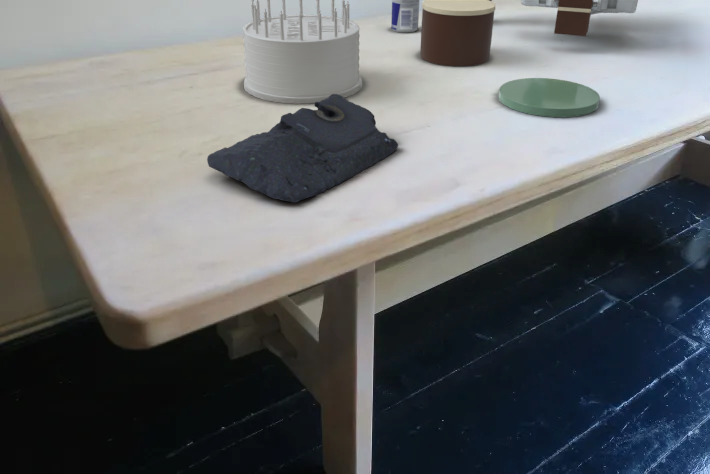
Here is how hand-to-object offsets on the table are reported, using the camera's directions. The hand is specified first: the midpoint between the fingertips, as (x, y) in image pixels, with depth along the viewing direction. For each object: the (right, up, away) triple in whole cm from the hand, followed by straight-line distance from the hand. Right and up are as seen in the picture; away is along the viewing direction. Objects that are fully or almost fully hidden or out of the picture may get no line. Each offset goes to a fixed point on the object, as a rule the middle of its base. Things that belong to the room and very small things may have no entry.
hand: (575, 4), depth 115 cm
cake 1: (-46, -17, -13) cm, 51 cm away
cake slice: (0, -4, +3) cm, 5 cm away
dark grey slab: (-44, -31, -38) cm, 66 cm away
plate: (-10, -21, -19) cm, 30 cm away
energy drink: (-28, +1, +18) cm, 34 cm away
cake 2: (-21, -9, +1) cm, 23 cm away
